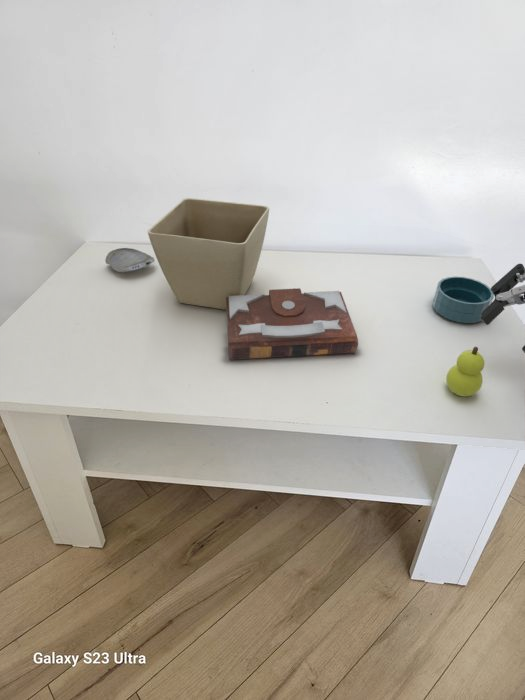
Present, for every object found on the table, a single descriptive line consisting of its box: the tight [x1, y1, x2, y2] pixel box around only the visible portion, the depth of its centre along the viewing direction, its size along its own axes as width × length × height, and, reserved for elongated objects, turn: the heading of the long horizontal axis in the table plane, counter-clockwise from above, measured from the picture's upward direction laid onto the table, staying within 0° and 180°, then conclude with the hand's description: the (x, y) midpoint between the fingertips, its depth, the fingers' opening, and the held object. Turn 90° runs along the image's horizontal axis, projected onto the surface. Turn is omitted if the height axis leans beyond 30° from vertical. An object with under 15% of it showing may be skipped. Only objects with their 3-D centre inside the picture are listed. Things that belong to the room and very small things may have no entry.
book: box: [226, 287, 359, 361], centre depth 87 cm, size 23×16×5 cm
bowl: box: [432, 276, 495, 324], centre depth 94 cm, size 11×11×5 cm
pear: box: [445, 346, 485, 397], centre depth 73 cm, size 5×5×9 cm
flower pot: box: [147, 197, 270, 311], centre depth 95 cm, size 19×19×17 cm
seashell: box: [104, 247, 156, 273], centre depth 106 cm, size 12×8×5 cm
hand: (503, 336), depth 72 cm, fingers open, 8 cm apart
